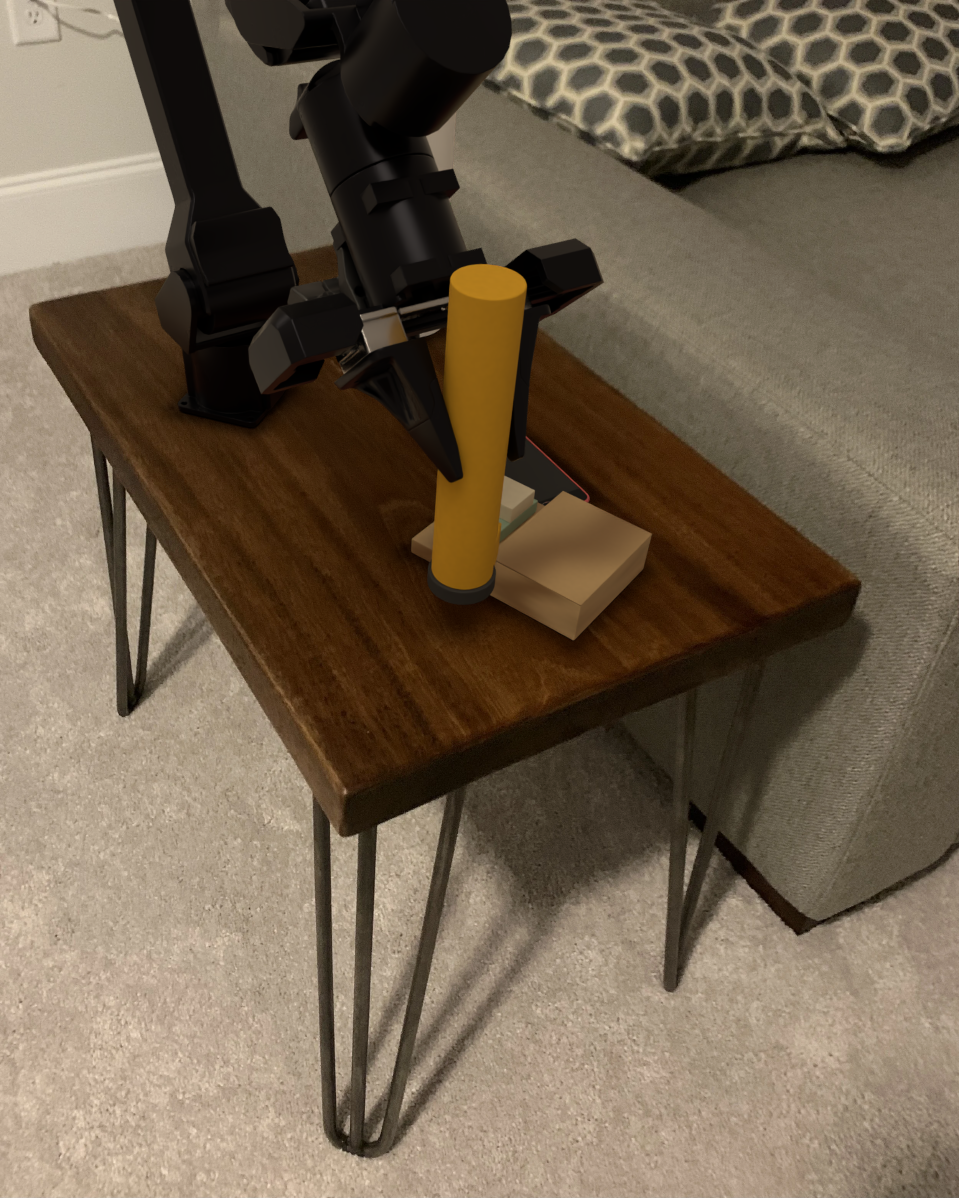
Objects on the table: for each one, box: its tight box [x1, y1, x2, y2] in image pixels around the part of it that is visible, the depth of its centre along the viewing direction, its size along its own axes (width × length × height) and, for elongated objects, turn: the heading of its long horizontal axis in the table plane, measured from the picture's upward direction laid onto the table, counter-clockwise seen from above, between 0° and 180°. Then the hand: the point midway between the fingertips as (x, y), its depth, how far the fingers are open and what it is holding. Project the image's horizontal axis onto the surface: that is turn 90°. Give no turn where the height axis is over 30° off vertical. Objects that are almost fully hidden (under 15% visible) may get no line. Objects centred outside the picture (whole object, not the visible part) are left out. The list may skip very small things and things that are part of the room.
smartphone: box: [504, 436, 591, 506], centre depth 78 cm, size 7×1×14 cm
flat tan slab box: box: [410, 491, 653, 641], centre depth 69 cm, size 13×9×3 cm
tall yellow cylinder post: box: [426, 263, 527, 606], centre depth 55 cm, size 5×4×19 cm
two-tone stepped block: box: [499, 476, 538, 543], centre depth 70 cm, size 7×4×2 cm, turn 144°
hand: (487, 470), depth 54 cm, fingers closed on tall yellow cylinder post, 3 cm apart
